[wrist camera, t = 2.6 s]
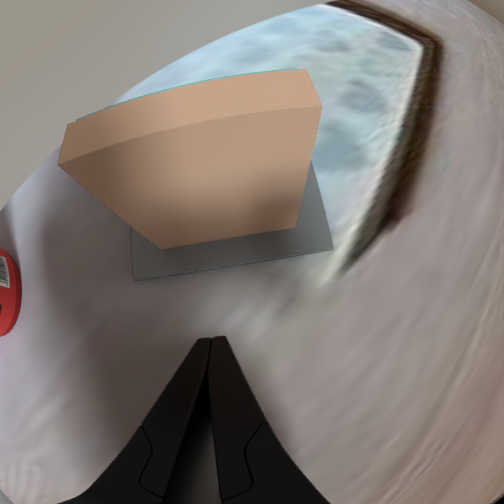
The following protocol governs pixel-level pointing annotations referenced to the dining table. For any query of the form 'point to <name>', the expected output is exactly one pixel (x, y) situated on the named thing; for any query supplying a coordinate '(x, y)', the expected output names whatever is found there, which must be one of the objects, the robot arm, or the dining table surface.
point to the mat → (239, 243)
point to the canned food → (9, 293)
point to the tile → (201, 156)
